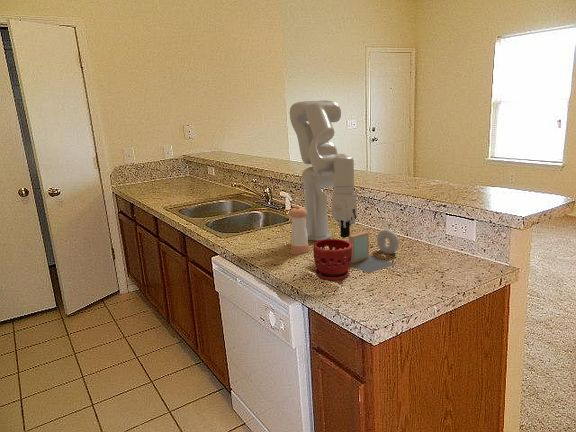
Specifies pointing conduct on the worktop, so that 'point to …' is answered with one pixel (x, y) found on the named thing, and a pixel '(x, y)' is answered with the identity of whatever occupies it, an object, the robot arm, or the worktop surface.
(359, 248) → the tile
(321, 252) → the plant pot
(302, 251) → the pepper shaker
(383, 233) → the donut
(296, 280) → the worktop surface
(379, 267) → the mat
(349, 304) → the worktop surface
